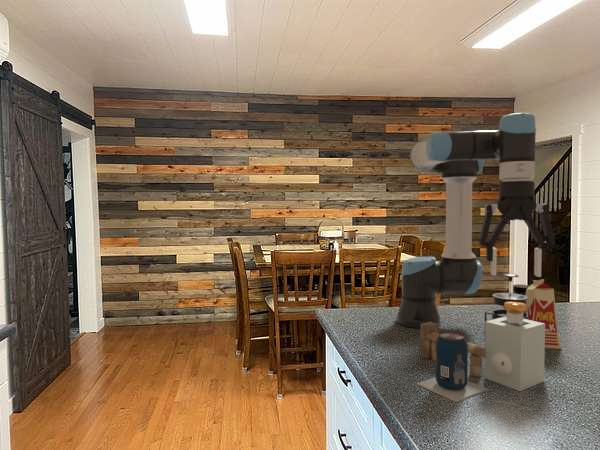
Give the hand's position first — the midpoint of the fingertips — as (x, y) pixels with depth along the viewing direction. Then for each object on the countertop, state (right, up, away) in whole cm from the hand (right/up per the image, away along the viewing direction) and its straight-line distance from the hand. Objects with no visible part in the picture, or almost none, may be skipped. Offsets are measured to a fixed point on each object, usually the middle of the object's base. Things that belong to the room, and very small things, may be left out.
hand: (515, 275), depth 103 cm
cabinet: (-1, -25, +1) cm, 25 cm away
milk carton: (+21, -24, +28) cm, 43 cm away
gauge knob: (0, -14, +1) cm, 14 cm away
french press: (+7, -25, +18) cm, 31 cm away
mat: (-16, -26, -3) cm, 31 cm away
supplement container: (+34, -22, +64) cm, 76 cm away
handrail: (-11, -25, +11) cm, 29 cm away
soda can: (-16, -26, -3) cm, 31 cm away
